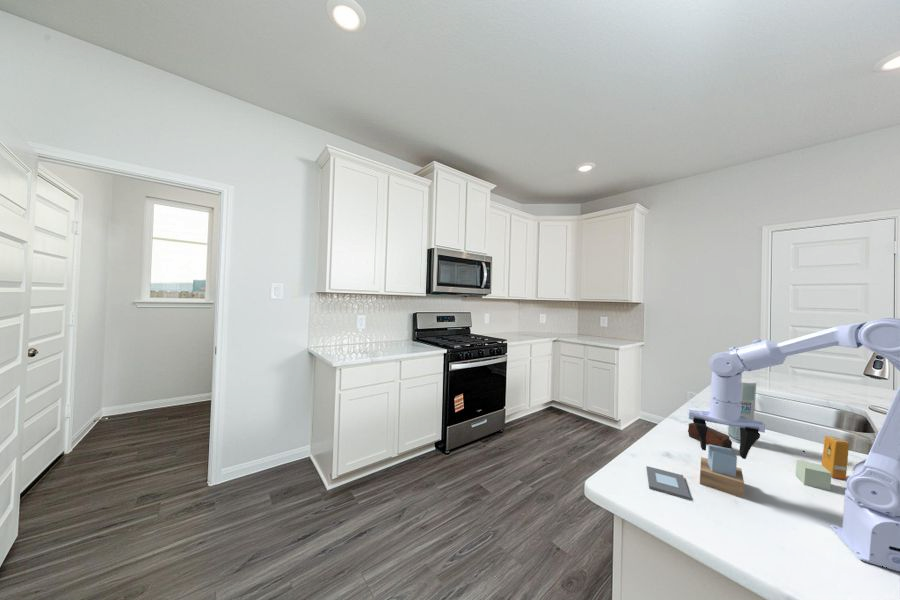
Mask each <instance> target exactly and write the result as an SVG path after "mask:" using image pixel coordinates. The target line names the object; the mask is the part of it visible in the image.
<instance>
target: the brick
mask: <svg viewBox="0 0 900 600" xmlns="http://www.w3.org/2000/svg"><path fill="white" fill-rule="evenodd" d="M707 427H708V428H707V434H706V446H708V445H709V444H710V445H715V446H720V447H725V448H730V449H732V448H733V447H732V445H733V441H731V440H730V438H729V436H728V435H726V434H727V433H723V432H722V431H718V430H716V429H714V428H712V427H709V426H707ZM687 432H688V436H689V437H690V438H691V439H694V440H696V441H697V442H700V439H699V435H698V432H697V429H696V427H695V424H694V422H690V423H688V430H687Z"/></svg>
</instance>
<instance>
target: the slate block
mask: <svg viewBox="0 0 900 600" xmlns="http://www.w3.org/2000/svg"><path fill="white" fill-rule="evenodd" d="M707 446H708V447H707V448H708V449H707V459H708V465H709V467H710V469H711V471H712V472H716V473H720V474H724V475H729V476H733V477H736V467H737V464H738V463H737V462H738V461H737V460H738V457H737V455H736V454H735V453H734V451H733V449H732V448H731V449H730V448H725V447H720V446H715V445H710V444H709V445H707Z"/></svg>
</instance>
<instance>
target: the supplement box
mask: <svg viewBox="0 0 900 600" xmlns="http://www.w3.org/2000/svg"><path fill="white" fill-rule="evenodd" d="M849 447H850V442H848V441H846V440H844V439H841V438H839V437H836V436H830V435H824V441H823V448H822V449H823V450H822V459H821V465H822V466H823V467H825V468H826V469H827V470H828V471H829V472H830V473H831V479H832V478H833V479H840V480H846V479H847V471H848V470H847V469H848V460H849V449H850V448H849Z"/></svg>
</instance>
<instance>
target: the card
mask: <svg viewBox="0 0 900 600" xmlns="http://www.w3.org/2000/svg"><path fill="white" fill-rule="evenodd" d="M646 473H647V474H646V475H647V482H648V489H650V490H655V491H657V492H660V493H664V494H667V495H670V496H675V497H678V498H682V499H685V500H689V501H691V495H690V493H689V490H688V487H687V484H686V481H685V477H684V475H683V474H679V473H675V472H671V471H667V470H664V469H661V468H657V467H653V466H648V465H646Z"/></svg>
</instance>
